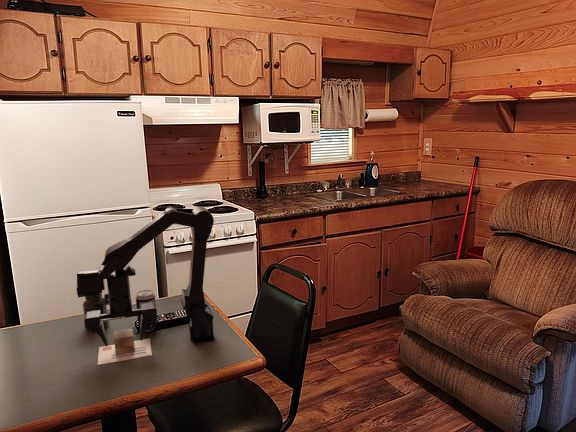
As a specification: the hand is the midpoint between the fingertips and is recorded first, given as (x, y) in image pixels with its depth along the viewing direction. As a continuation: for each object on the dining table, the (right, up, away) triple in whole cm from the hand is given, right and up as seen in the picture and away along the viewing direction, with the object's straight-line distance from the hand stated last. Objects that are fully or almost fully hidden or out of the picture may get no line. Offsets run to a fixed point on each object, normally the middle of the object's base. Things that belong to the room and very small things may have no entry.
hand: (124, 343), depth 126 cm
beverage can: (+2, 0, +14) cm, 14 cm away
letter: (0, -3, +1) cm, 3 cm away
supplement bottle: (-14, 0, +15) cm, 21 cm away
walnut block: (0, -2, +1) cm, 2 cm away
